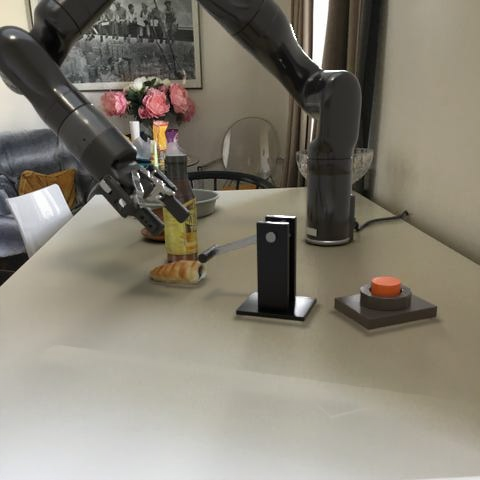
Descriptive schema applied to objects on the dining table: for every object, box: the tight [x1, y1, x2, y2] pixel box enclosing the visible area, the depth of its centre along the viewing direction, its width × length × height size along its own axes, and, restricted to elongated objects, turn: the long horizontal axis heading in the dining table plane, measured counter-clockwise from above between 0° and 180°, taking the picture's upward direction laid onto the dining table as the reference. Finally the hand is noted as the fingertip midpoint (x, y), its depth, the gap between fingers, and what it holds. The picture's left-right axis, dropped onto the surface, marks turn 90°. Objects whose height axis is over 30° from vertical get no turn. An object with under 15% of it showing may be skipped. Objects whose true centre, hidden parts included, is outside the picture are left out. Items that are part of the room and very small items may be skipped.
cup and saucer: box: [140, 208, 165, 242], centre depth 126 cm, size 12×12×6 cm
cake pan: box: [144, 188, 221, 218], centre depth 153 cm, size 25×25×4 cm
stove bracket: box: [235, 214, 318, 323], centre depth 81 cm, size 10×8×14 cm
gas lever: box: [197, 220, 291, 264], centre depth 81 cm, size 13×6×2 cm, turn 71°
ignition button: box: [370, 276, 402, 296], centre depth 79 cm, size 4×4×2 cm
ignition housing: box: [333, 282, 438, 331], centre depth 80 cm, size 11×9×4 cm
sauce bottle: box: [163, 153, 199, 263], centre depth 107 cm, size 6×6×20 cm
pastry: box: [149, 260, 207, 286], centre depth 97 cm, size 9×7×4 cm
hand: (173, 225), depth 84 cm, fingers open, 8 cm apart
